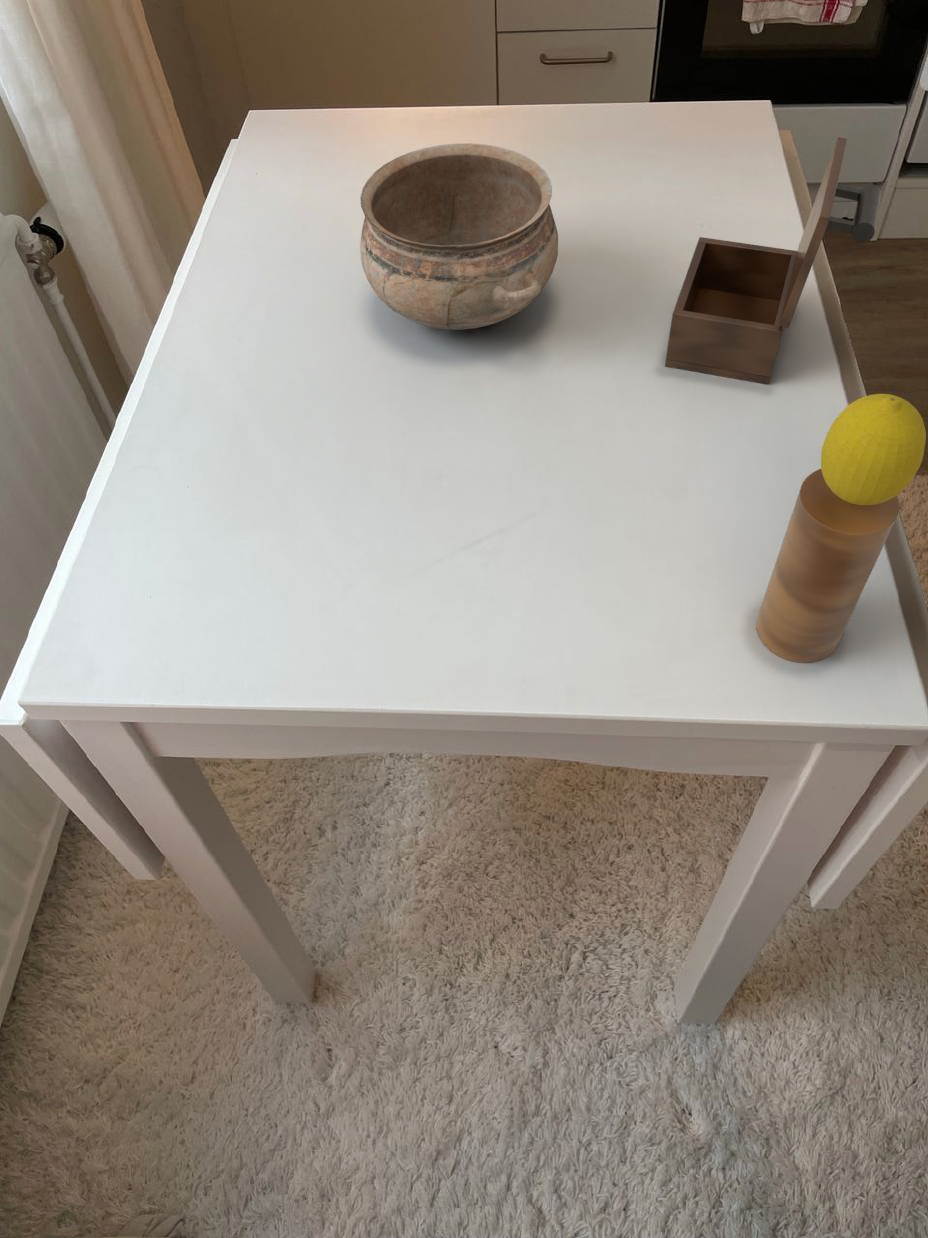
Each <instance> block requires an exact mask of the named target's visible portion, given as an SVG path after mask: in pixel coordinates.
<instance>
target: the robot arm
mask: <svg viewBox="0 0 928 1238" xmlns="http://www.w3.org/2000/svg"><path fill="white" fill-rule="evenodd" d="M921 67H922V68H921V73H920V79H919V85H920V88H921V89H923V91H927V92H928V50H927V51H926V55H925V59H924V61H923V65H922V66H921Z"/></svg>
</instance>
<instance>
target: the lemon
mask: <svg viewBox="0 0 928 1238" xmlns="http://www.w3.org/2000/svg"><path fill="white" fill-rule="evenodd" d="M926 431H927V430H926V427H925V423H924V420H923V417H922V415H921V414H920V413H919V411H918V409H917V408H916V407H915V406H913V404H911V402H909V401H908V400H906V399H905V398H903V397H900V396H898V395H894V394H890V393H874V394H869V395H866V396H863V397H862V396H861V397H860V398H858V399H855V400H854V401H853V402H851V403H850V404H848V405H847V406H846V407H845V408H844V409H843V410H842V411H841V412H840V413H839V415H837V416H836V418H835V419H834V420H833V422H832V424H831V425H830V427H829V429H828V431H827V434H826V436H825V438H824V440H823V443H822V447H821V451H820V469H821V470H822V474H823V477H824V480H825V482H826V484H827V485H828V487H829V488H830V489H831V491H832V492H833V493H834V494H836V495H837V496H838V497H839V498H841V499H843V500H845V501H846V502H849V503H852V504H857V505H875V504H880V503H883V502H885V501H887V500H890V499H892V498H894V497H895V496H897V497H898V495H899V494H901V492H903V491H904V490H905V489H906V488H907V487H908V486H909V485H910V483H911V482H912V481H913V479H914V477H915V476H916V474H917V473H918V470H919V469H920V466H921V464H922V462H923V459H924V454H925V450H926V449H925V448H926V439H927V432H926Z"/></svg>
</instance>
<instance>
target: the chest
mask: <svg viewBox="0 0 928 1238" xmlns="http://www.w3.org/2000/svg"><path fill="white" fill-rule="evenodd" d="M797 251H798V250H793V249H786V248H779V247H773V246H772V247H771V246H767V245H766V246H765V245H760V244H759V245H758V244H751V243H745V242H738V241H730V240H723V239H716V238H709V237H702V236H700V237H698V240H697V243H696V246H695V248H694V251H693V252H694V253H693V254H692V258H691V260H690V263H689V266H688V268H687V271H686V275H685V278H684V280H683V284H682V286H681V289H680V291H679V294H678V298H677V300H676V303H675V306H674V309H673V311H672V315H671V323H670V329H669V336H668V341H667V348H666V356H665V362H664V367H668V368H672V369H679V370H685V371H690V372H697V373H701V374H708V375H712V376H719V377H724V378H731V379H735V380H742V381H747V382H753V383H759V384H764V385H769V384H770V380H771V376H772V373H773V369H774V365H775V363H776V357H777V353H778V350H779V346H780V343H781V338H782V335H783V330H784V327H782V326H779V324H780V320H781V316H782V312H783V308H784V304H785V300H786V296H787V292H788V288H789V283H790V279H791V275H792V271H793V267H794V263H795V259H796V255H797Z"/></svg>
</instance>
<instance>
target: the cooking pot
mask: <svg viewBox="0 0 928 1238" xmlns="http://www.w3.org/2000/svg"><path fill="white" fill-rule="evenodd" d="M552 197H553V185H552V182H551V179H550V176H549V175H548V174H547V172H546V170H545V169H544V168H543V167H542V166H541V165H539V164H538V163H537V162H536V161H534V160H533V159H531V158H529V156H526V155H524V154H522V153H520V152H517V151H515V150H511V149H509V148H504V147H501V146H496V145H491V144H483V143H482V144H481V143H449V144H448V143H447V144H438V145H433V146H429V147H423V148H420V149H416V150H412V151H410V152H407V153H405V154H402V155H400V156H398V157H396V158H393V159H392V160H390V161H388V162H387V163H385V164H383V165H382V166H380V167H379V168H378V169H376V170H375V171H374V172H373V173H372V175H370V177H369V178H368V179H367V180H366V181H365V184H364V186H363V187H362V189H361V194H360V199H359V200H360V208H361V209H362V213H363V215H364V220H363V223H362V228H361V234H360V242H359V249H360V252H359V253H360V261H361V266H362V269H363V272H364V274H365V277H366V281H367V282H368V284H369V285H370V287H371V288H372V290H373V291H374V292H375V294H376V295H377V297H378V298H379V299H380V300H381V301H382V302H383V303H384V304H385V305H386V306H387V307H388V308H389V309H390V310H392V311H393V312H395V313H396V314H398V315H399V316H402V317H403V318H405V319H406V320H408V321H411V322H414V323H416V324H419V325H422V326H427V327H430V328H434V329H439V330H440V329H441V330H448V331H449V330H453V331H454V330H458V331H459V330H472V329H478V328H482V327H487V326H491V325H494V324H497V323H500V322H502V321H505V320H506V319H509V318H511V317H512V316H515V315H516V314H518V313H520V312H521V311H522V310H523V309H525V308H527V307H528V306H529V305H530V304H531V303H532V302H533V301H534V300H535V299H536V298H537V297H538V296H540V294H541V293H542V291H543V290H544V289H545V286H546V285H547V283H548V282H549V280H550V278H551V276H552V274H553V272H554V269H555V266H556V263H557V259H558V256H559V233H558V228H557V225H556V221H555V217H554V213H553V210H552V208H551V205H550V202H551V200H552Z"/></svg>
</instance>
